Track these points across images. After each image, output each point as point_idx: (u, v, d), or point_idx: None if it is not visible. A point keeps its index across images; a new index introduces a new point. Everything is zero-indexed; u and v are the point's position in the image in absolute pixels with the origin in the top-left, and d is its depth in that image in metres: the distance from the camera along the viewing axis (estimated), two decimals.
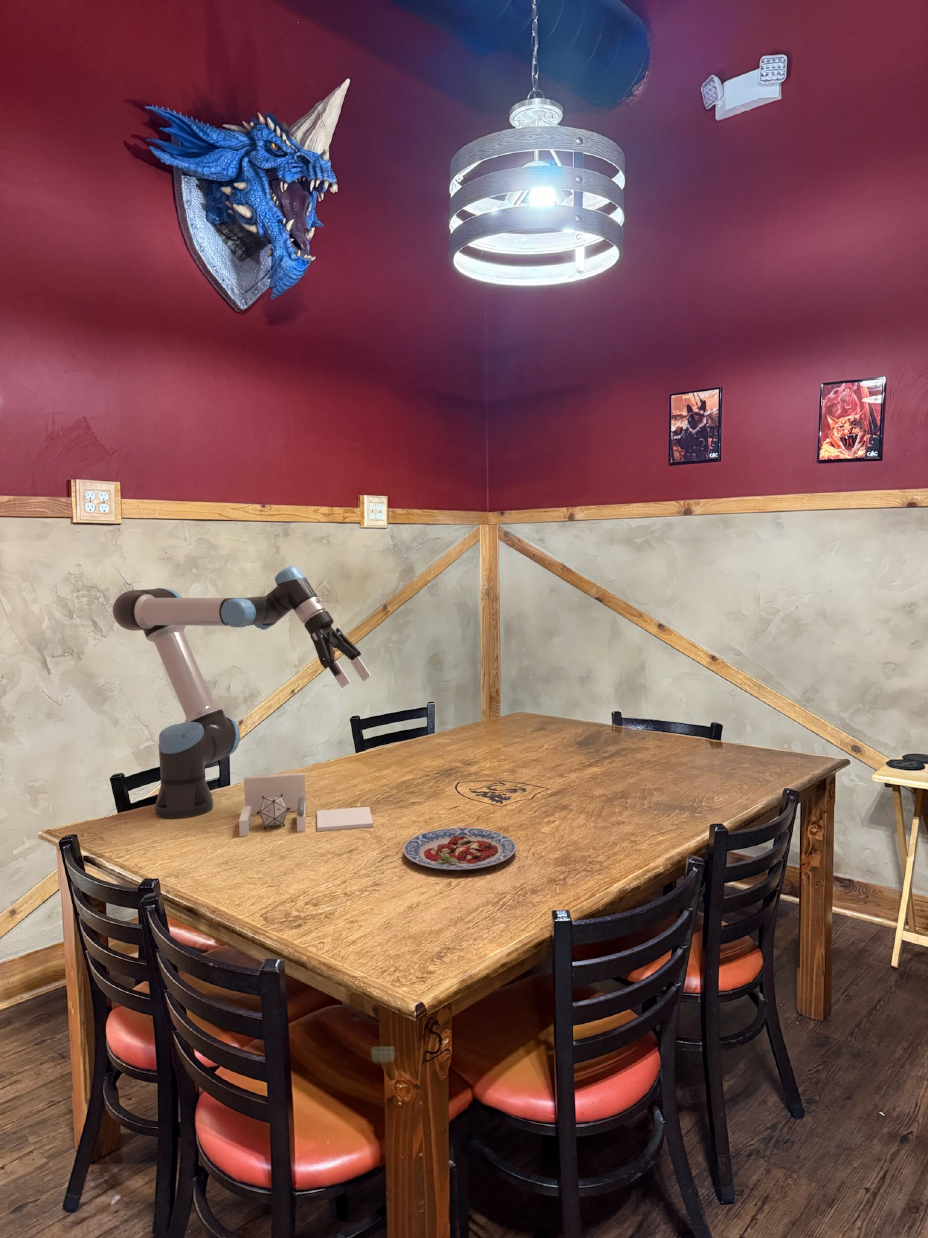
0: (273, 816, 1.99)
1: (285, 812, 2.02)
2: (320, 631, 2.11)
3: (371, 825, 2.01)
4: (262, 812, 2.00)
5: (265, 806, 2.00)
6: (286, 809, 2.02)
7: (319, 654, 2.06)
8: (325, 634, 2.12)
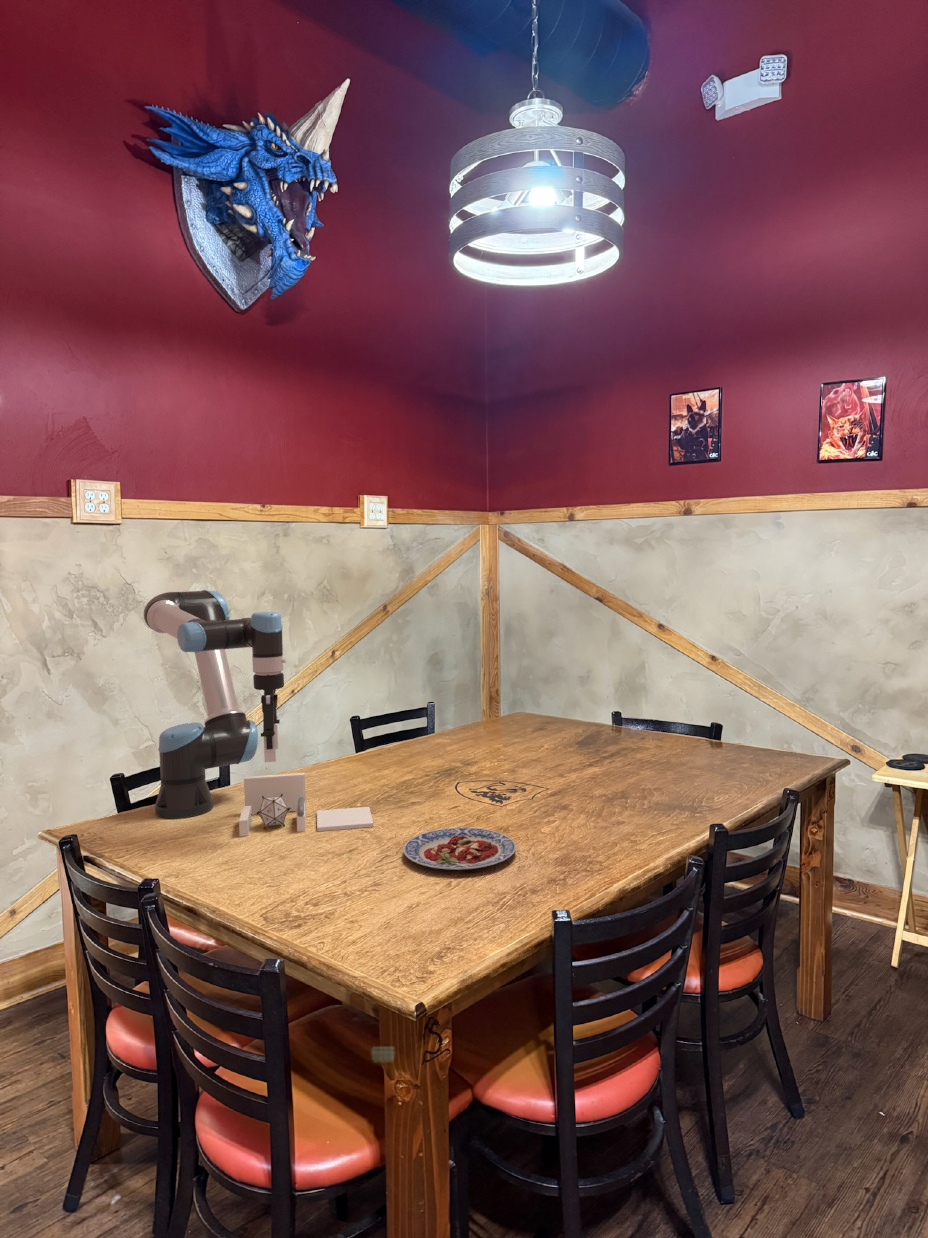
0: (273, 816, 1.99)
1: (285, 812, 2.02)
2: (271, 694, 1.97)
3: (371, 825, 2.01)
4: (262, 812, 2.00)
5: (265, 806, 2.00)
6: (286, 809, 2.02)
7: (265, 722, 1.92)
8: (273, 698, 1.98)
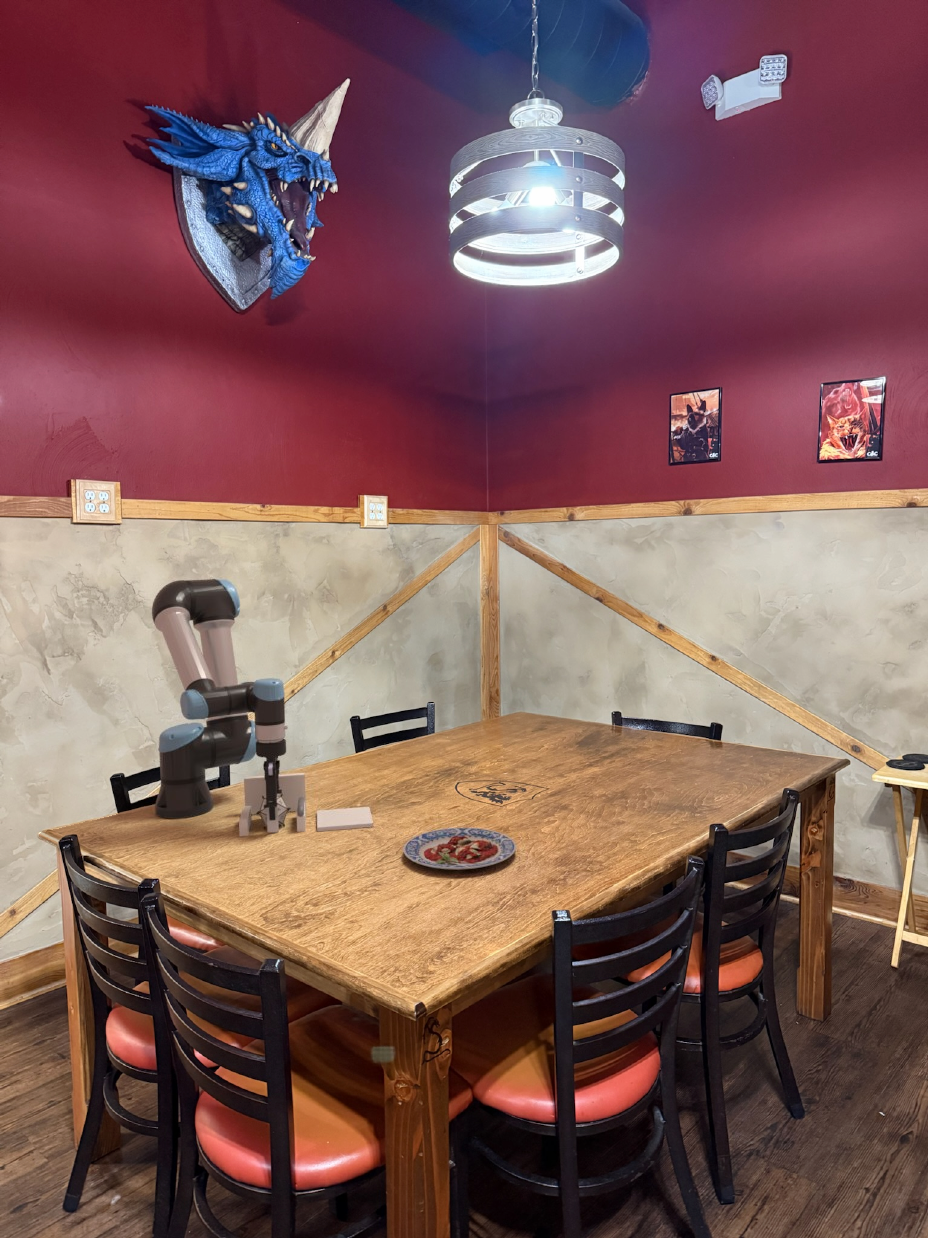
0: None
1: (285, 812, 2.02)
2: (273, 763, 1.98)
3: (371, 825, 2.01)
4: (262, 812, 2.00)
5: None
6: (286, 809, 2.02)
7: (268, 794, 1.95)
8: (275, 765, 1.99)
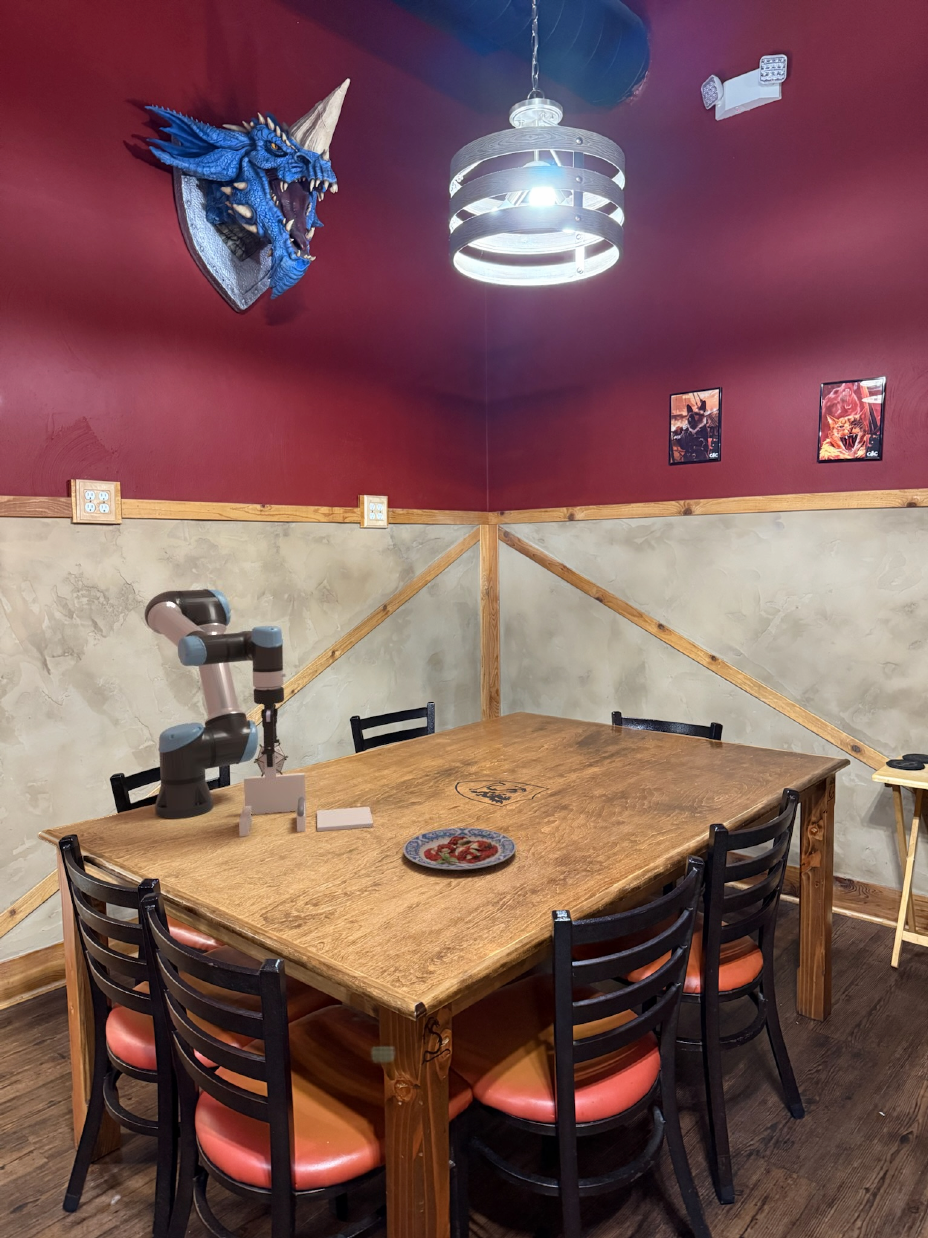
0: None
1: (283, 760, 2.01)
2: (271, 709, 1.97)
3: (371, 825, 2.01)
4: (260, 760, 1.99)
5: None
6: (284, 757, 2.01)
7: (265, 740, 1.94)
8: (273, 712, 1.99)
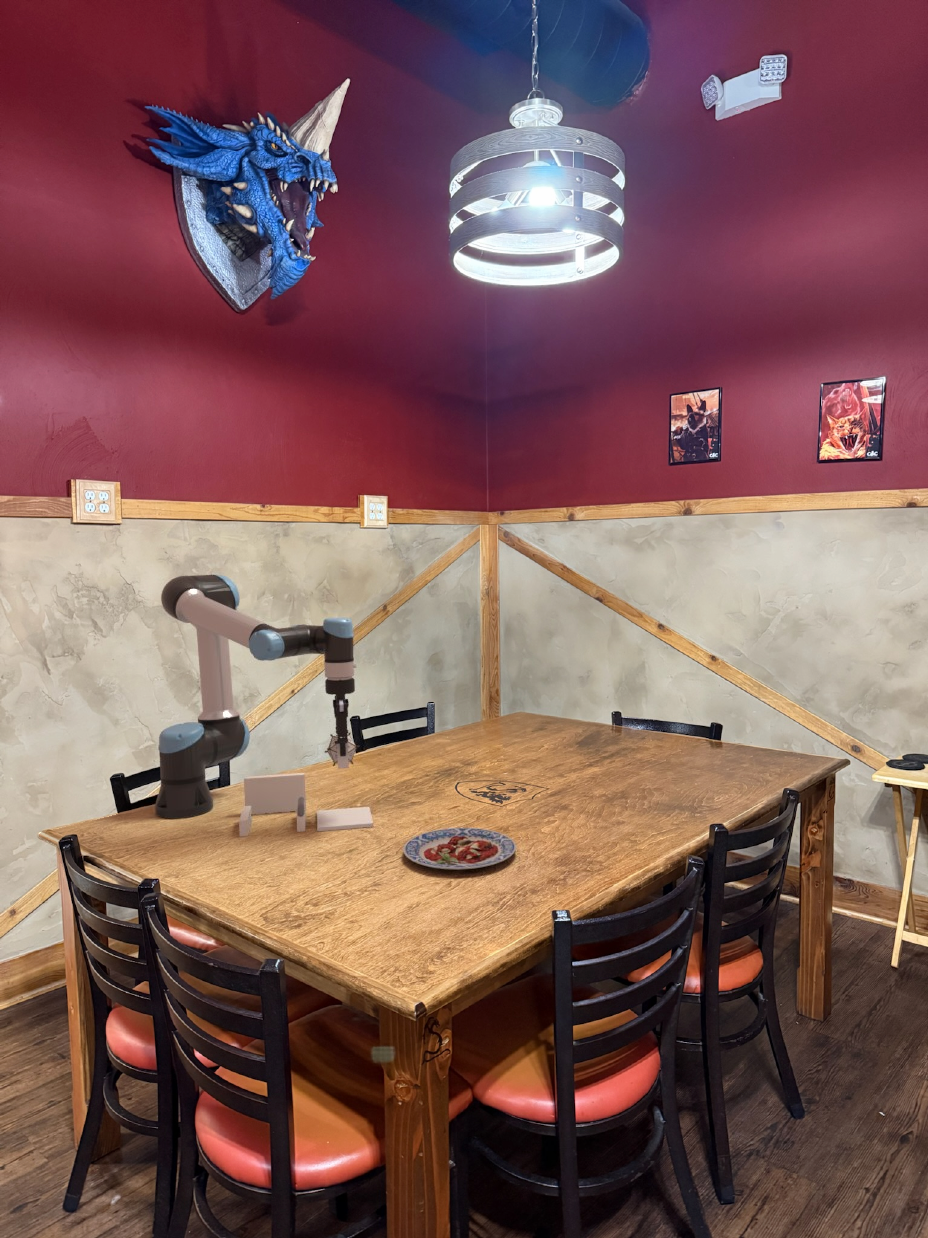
0: None
1: (354, 750, 2.04)
2: (344, 700, 2.00)
3: (371, 825, 2.01)
4: (332, 749, 2.02)
5: (334, 744, 2.03)
6: (355, 747, 2.04)
7: (339, 730, 1.97)
8: (345, 703, 2.02)
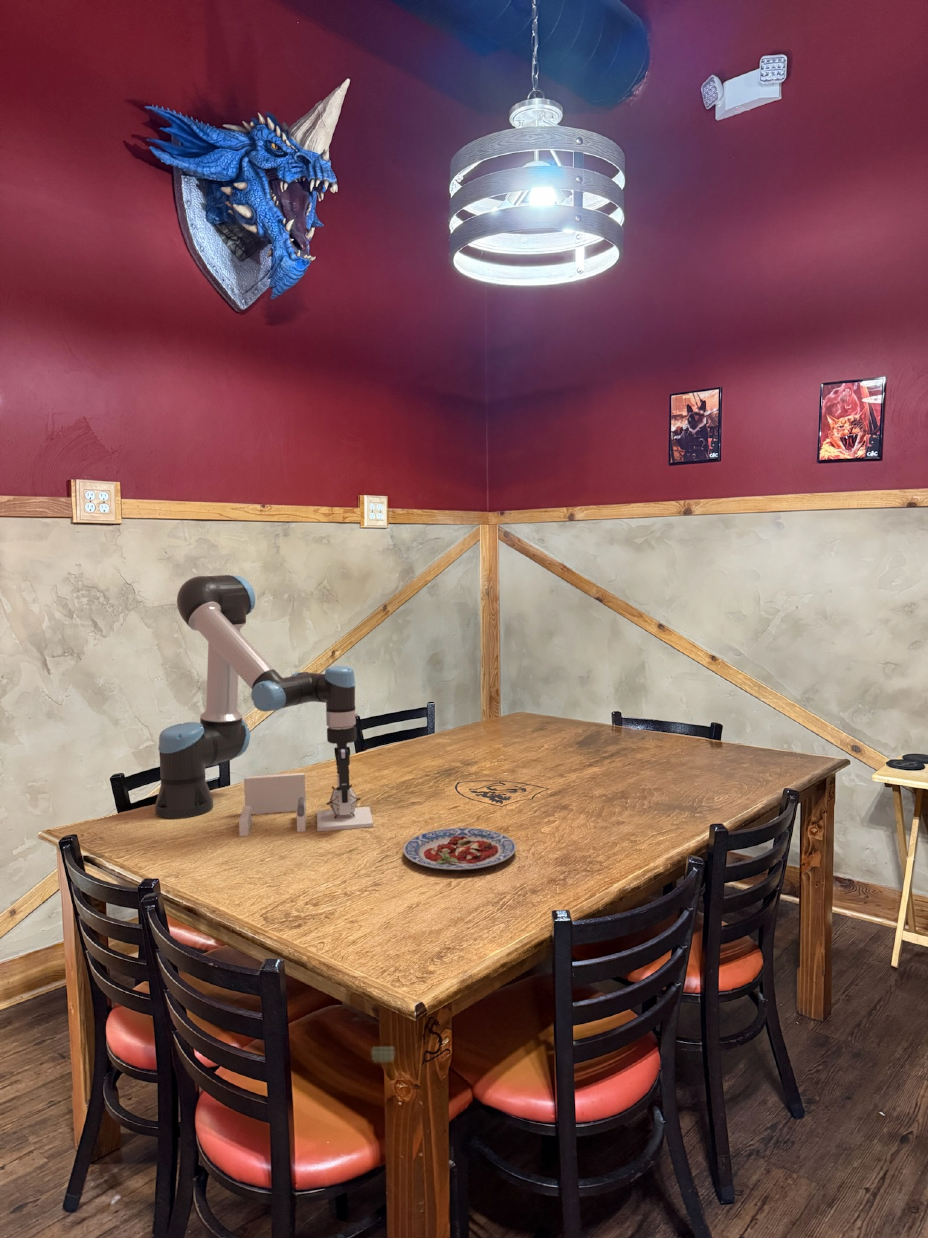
0: None
1: (355, 802, 2.05)
2: (345, 748, 2.01)
3: (371, 825, 2.01)
4: (333, 803, 2.03)
5: (336, 797, 2.04)
6: (356, 799, 2.05)
7: (341, 776, 1.97)
8: None
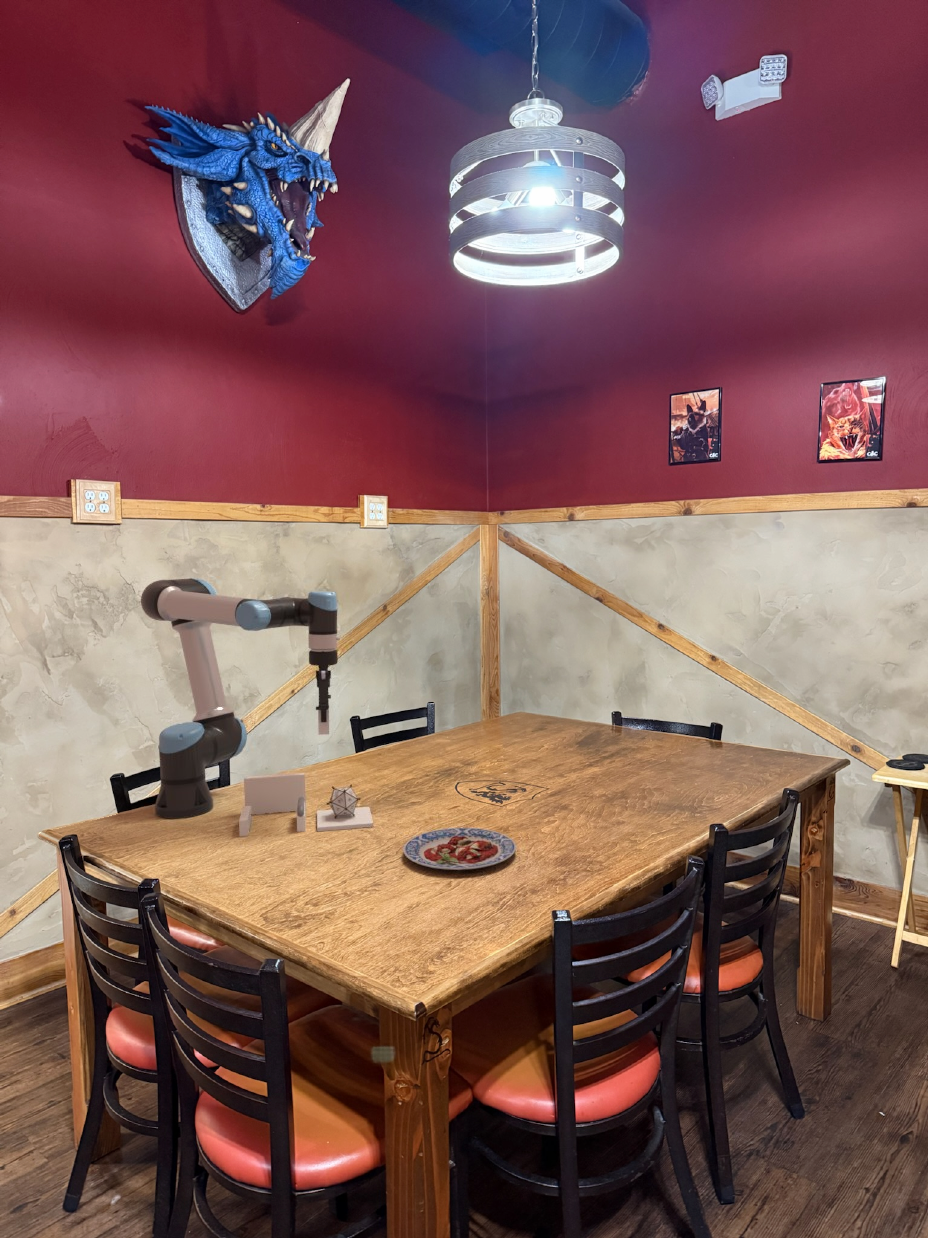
0: (344, 806, 2.03)
1: (355, 802, 2.05)
2: (326, 670, 2.06)
3: (371, 825, 2.01)
4: (333, 803, 2.03)
5: (336, 797, 2.04)
6: (356, 799, 2.05)
7: (320, 696, 2.01)
8: (327, 674, 2.07)
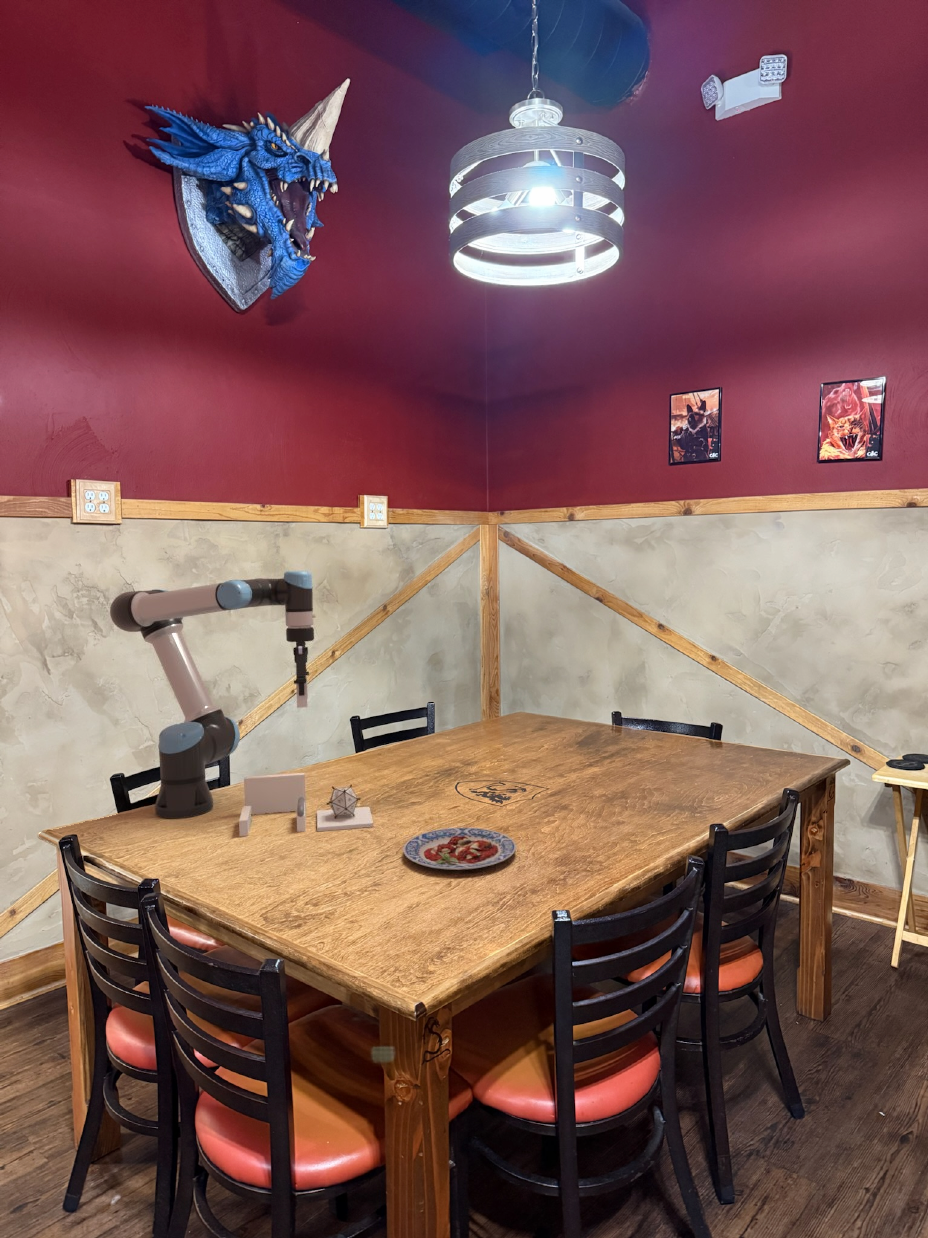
0: (344, 806, 2.03)
1: (355, 802, 2.05)
2: (303, 646, 2.14)
3: (371, 825, 2.01)
4: (333, 803, 2.03)
5: (336, 797, 2.04)
6: (356, 799, 2.05)
7: (298, 670, 2.10)
8: (304, 650, 2.16)
